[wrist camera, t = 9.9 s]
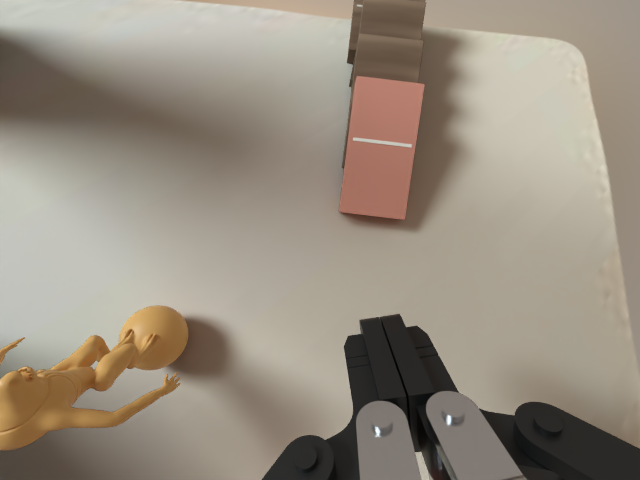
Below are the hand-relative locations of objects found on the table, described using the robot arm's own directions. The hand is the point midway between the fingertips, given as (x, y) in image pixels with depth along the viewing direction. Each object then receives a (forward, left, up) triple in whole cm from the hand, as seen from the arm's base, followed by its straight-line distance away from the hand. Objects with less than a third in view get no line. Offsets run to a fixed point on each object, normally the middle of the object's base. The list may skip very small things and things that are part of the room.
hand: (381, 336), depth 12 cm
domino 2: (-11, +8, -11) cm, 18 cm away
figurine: (-5, -12, -12) cm, 17 cm away
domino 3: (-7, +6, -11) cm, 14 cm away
